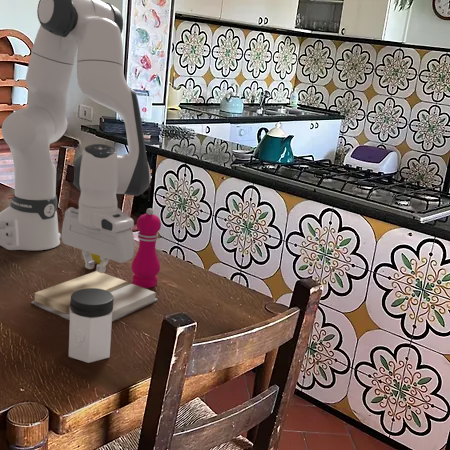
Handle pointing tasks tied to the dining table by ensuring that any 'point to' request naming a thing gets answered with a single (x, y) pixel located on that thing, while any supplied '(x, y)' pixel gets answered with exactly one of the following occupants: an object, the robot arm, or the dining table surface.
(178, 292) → the dining table surface
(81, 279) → the birch plank
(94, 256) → the lemon
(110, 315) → the jar
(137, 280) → the pepper mill
